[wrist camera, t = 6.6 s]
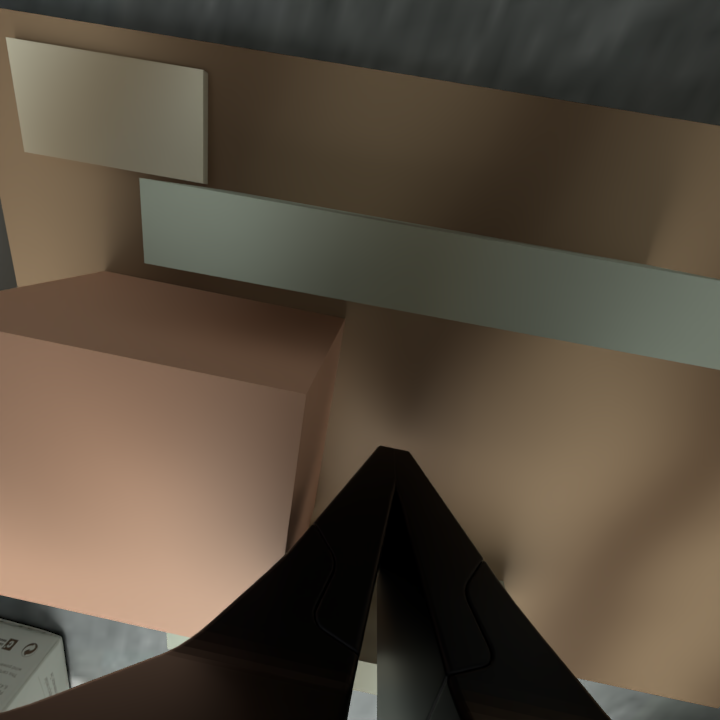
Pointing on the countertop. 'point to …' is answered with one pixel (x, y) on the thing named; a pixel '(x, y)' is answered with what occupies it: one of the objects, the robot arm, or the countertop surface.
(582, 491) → the tunnel deck
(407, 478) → the robot arm
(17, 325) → the block
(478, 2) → the countertop surface
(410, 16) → the countertop surface
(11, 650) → the skincare box
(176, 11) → the countertop surface
